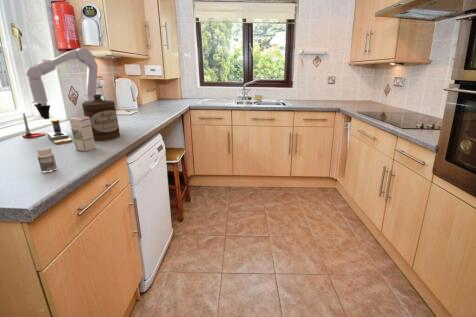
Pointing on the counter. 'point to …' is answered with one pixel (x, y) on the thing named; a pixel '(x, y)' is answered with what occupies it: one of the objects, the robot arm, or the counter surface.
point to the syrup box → (82, 133)
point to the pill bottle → (46, 159)
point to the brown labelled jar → (102, 118)
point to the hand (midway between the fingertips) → (45, 118)
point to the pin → (56, 125)
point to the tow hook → (28, 134)
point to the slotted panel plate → (59, 137)
